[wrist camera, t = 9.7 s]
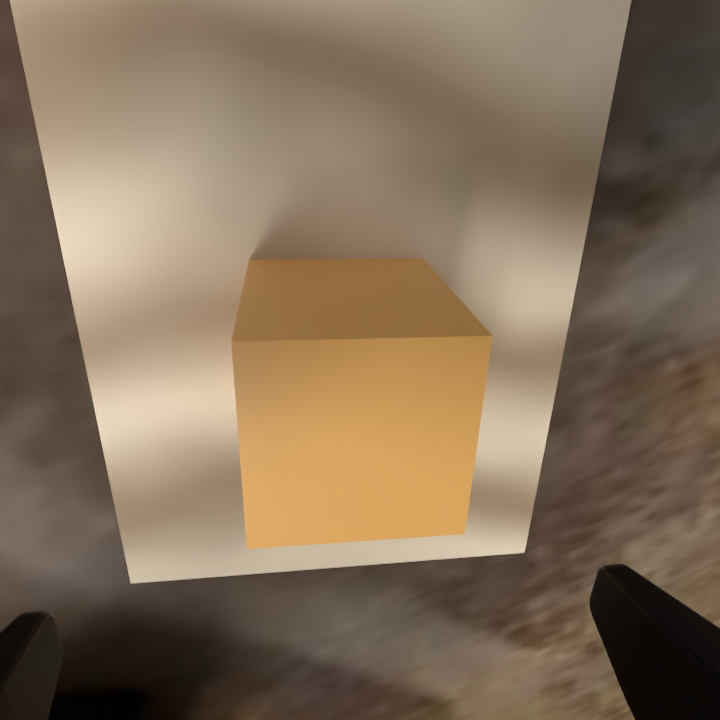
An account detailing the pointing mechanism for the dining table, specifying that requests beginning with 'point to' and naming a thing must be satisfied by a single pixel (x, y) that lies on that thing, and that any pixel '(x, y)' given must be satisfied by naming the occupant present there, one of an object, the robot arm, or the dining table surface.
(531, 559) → the dining table surface
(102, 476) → the dining table surface
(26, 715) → the robot arm
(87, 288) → the board
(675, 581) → the dining table surface
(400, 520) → the block
